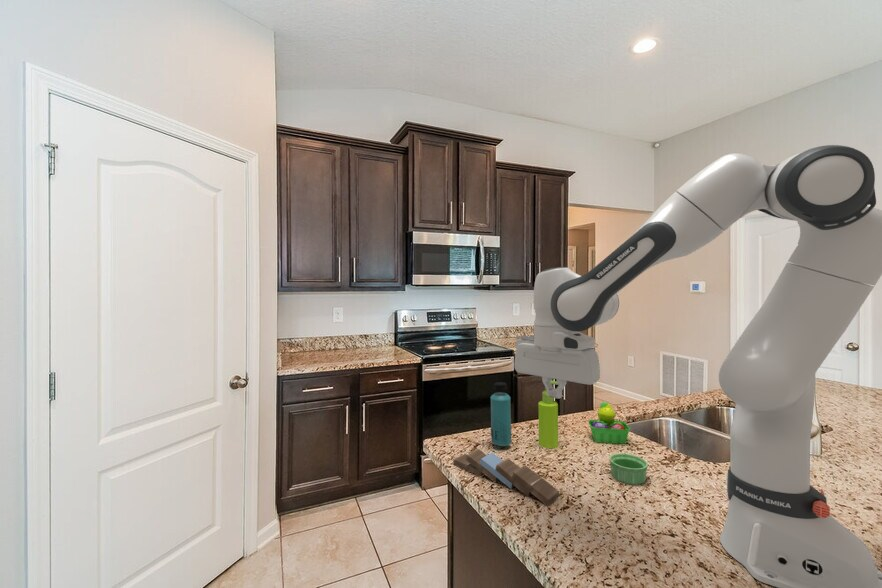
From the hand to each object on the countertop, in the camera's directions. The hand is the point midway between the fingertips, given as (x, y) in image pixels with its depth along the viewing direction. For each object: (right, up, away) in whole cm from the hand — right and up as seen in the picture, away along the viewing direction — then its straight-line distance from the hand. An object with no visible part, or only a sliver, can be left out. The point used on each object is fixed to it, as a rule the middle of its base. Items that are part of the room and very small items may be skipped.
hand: (554, 397), depth 89 cm
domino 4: (-4, -23, +3) cm, 24 cm away
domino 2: (-11, -23, +10) cm, 28 cm away
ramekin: (+22, -24, +10) cm, 34 cm away
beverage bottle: (-8, -24, +30) cm, 39 cm away
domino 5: (0, -23, 0) cm, 23 cm away
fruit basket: (+28, -23, +35) cm, 51 cm away
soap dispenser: (+8, -24, +31) cm, 40 cm away
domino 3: (-7, -23, +7) cm, 25 cm away
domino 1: (-14, -23, +14) cm, 30 cm away
